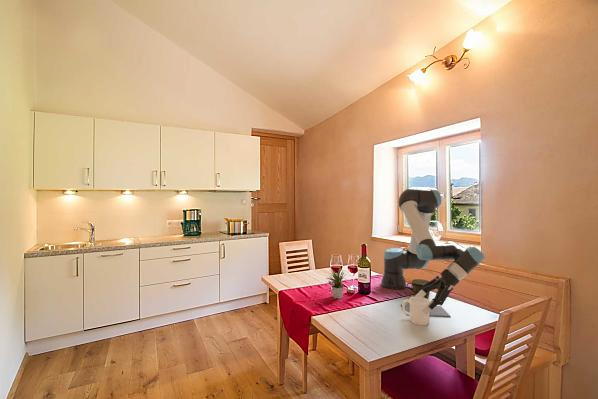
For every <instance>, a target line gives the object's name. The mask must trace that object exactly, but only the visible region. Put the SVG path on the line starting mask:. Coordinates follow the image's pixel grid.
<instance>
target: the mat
mask: <svg viewBox="0 0 598 399" xmlns="http://www.w3.org/2000/svg"><path fill="white" fill-rule="evenodd" d="M402 304H403V303H402ZM402 304H400V306H401V308H402ZM405 310H406V311H407V312H409V313H410V304H405ZM405 315H406V316H408V315H407V314H405ZM429 317H437V318H438V317H440V318H441V317H443V318H451V314H449V313H448V312H447V311H446V309H444V308H443V306H440V305H437V306H436V307H434V308H433V309H432V310H431V311H430V312H429Z"/></svg>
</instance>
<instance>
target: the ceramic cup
mask: <svg viewBox="0 0 598 399" xmlns="http://www.w3.org/2000/svg"><path fill="white" fill-rule="evenodd" d="M429 281H430V280H427V279H420V278H415V279H412V280H411V282H408V283H406V288H407V289H409V290H410V291H411V292H412V293H413V297H414V296H415V295H416V294H417V293H419V292H420V291H421V290H422V285H424V284H426V283H428V282H429ZM409 285H411V287H412V288H410V287H409ZM430 293H431V291H429V292H428V293H427V294H426V295H425V296H424V298H426V299H428V300H429V297H430Z"/></svg>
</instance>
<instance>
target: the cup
mask: <svg viewBox="0 0 598 399" xmlns="http://www.w3.org/2000/svg"><path fill="white" fill-rule="evenodd" d="M429 302H430V300H429V299H426V298H424V297H417V296H414V295H413V296H411V297H409V299H406V298H405V299H404V300H403V301H402V307H401V308H402V311H403V313H404V314H405V315H406V314H407V315H406V316H409V321H410V322H411V323H413V324H415V325H418V326H427V325H429V323H430V316H429V313H428V314H427V315H426V314H425V313H424V312H423V311H422V310H421V309H423V308H424V307H425V306H426V305H427V304H428V303H429ZM406 303H409V305H410V313H409V312H407V311H406V310H405V305H406Z"/></svg>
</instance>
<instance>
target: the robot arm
mask: <svg viewBox="0 0 598 399" xmlns="http://www.w3.org/2000/svg"><path fill="white" fill-rule="evenodd" d="M398 197H399V198H398V207H399V210H400V212H401V213H403V214H404V217H405V219H406V220H407V222H408V225H409V227H410V230H411V235H410V236H411V237H410V243H409V245H407V247H406V249H405V250H404V249H403V248H400V247H397V248H396V247H391V248H387V249H386V250H384V253H383V275H382V278H381V280H380V281H381V283H380V284H381V286H382V287H384V288H385V289H386V288H387V289H391V290H392V289H393V290H404V289H406V288H407V281H406V279H405V276H404V270H420V269H421V270H422V269H425V268H427V267H428V265H429V263H430V261H452V262H451V263H450V264H449V265H447V267H446V268H444V269H443V271H441V272H440V276H441V277H440V276H438V275H436V276H434V278H433V279H431V280H428V281H429V282H428V283H426V284H424V285H422V290H421V291H420V292H419V293H417V294H416V295H415V296H417V297H424V296H425V295H426V294H427V293H428V292H429V291H430V292H431V291H434V290H437V291H436V294H435V296H434V298H432V299H431V300H429V303H428V304H427V305H426V306H425V307H424V308H423V309H421V310H422V311H423V312H424V313H425V314H426V315H427V314H428V313H429V312H430V311H431V310H432V309H433V308H434V307H436V306H441V307H443V304H444V303H445V301H446V300H447V298H448V296H450V293H451V292H452V291H453V290H454V287H455V286H457V285H458V284H459V283H460V280H461V281H462V280H463V279H464V278H466V277H467V275H468V274H469V273H470V272H472V271H473V270H474V269H475V268H476V267H477V266H479V265H480V263H482V261H483V260H484V259H485V255H484V253H483V252H482V251H481V250H480V249H478V248H477V247H476V246H474V245H470V246H468V247H464V246H462V245H460V244H459V243H457V242H455V241H447V242H445V243H442V244H441V243H435V241H434V238H433V237H432V235H431V232H430V231H429V228H430V223H431V218H432V214H434V213H435V211H436V209H438V208H440V207H441V205H442V196H441V193H440V192H439V190H438V189H437V188H434V187H410V188H406V189H404V190H403V191H402V192H401V194H400V195H399V196H398Z"/></svg>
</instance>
